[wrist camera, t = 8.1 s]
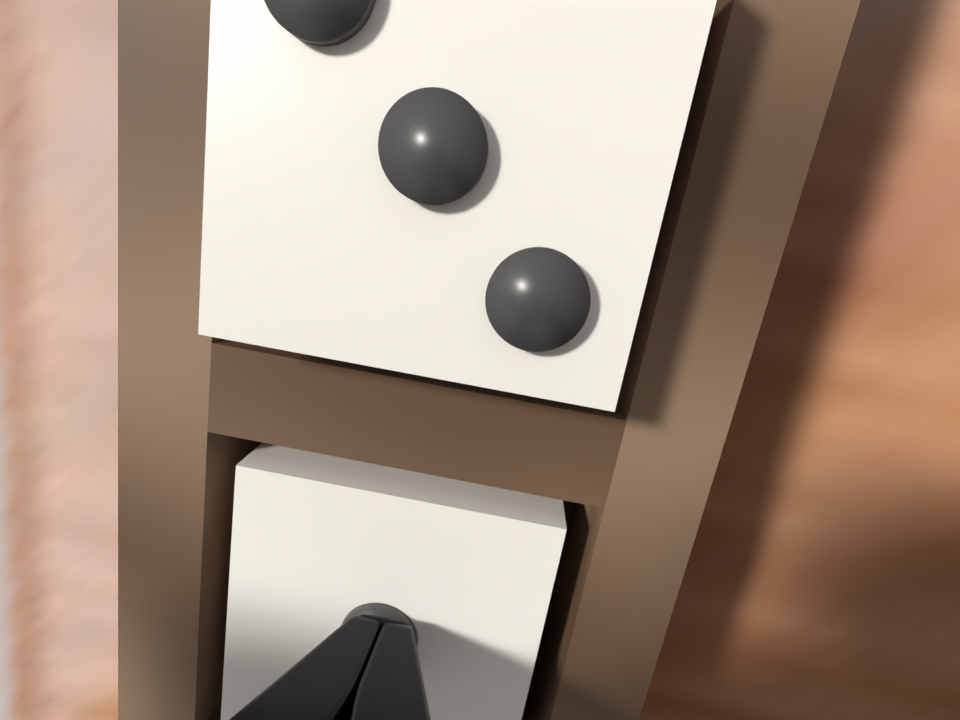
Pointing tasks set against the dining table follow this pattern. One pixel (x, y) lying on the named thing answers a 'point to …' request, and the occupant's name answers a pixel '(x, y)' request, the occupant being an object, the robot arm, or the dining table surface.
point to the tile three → (444, 182)
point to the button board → (444, 404)
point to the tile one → (388, 575)
